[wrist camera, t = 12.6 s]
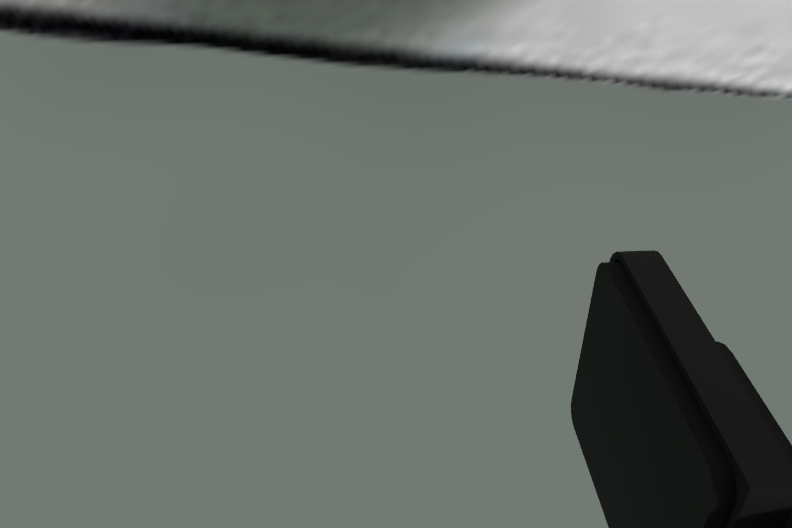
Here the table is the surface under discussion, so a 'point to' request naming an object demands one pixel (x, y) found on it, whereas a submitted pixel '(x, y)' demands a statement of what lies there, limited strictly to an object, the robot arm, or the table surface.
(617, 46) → the table surface
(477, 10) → the table surface
